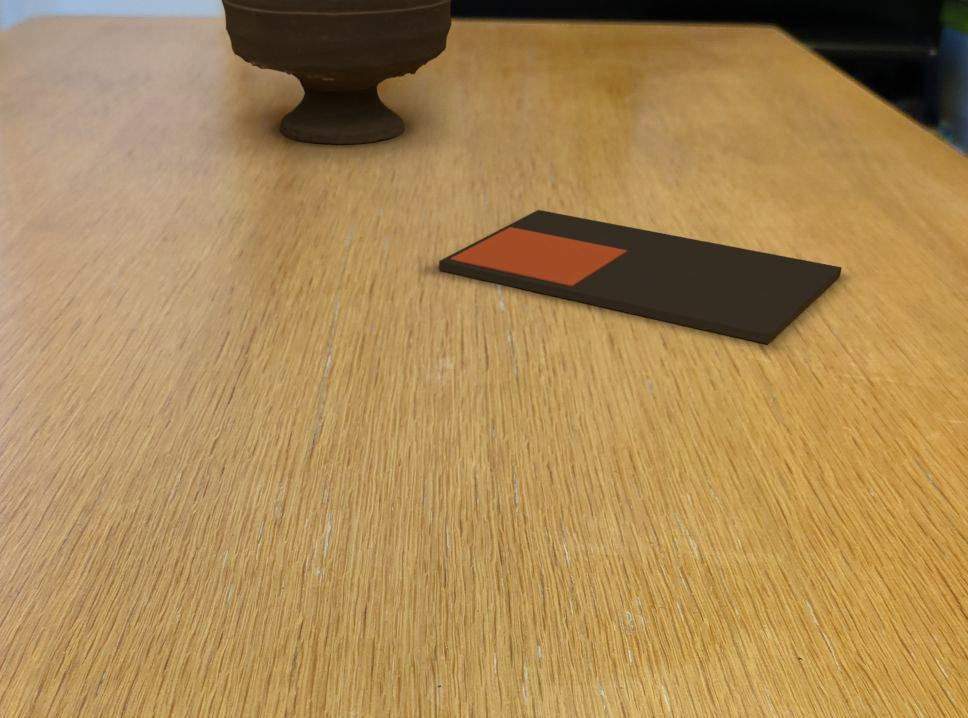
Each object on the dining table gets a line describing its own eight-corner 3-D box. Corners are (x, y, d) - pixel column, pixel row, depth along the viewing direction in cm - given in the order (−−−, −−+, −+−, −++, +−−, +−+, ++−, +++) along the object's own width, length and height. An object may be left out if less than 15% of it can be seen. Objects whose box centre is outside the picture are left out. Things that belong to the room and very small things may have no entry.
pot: (213, 152, 91) (198, -156, 82) (240, 118, 107) (230, -142, 98) (452, 157, 91) (462, -147, 82) (443, 123, 107) (451, -135, 98)
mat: (840, 276, 70) (842, 265, 70) (768, 344, 62) (770, 332, 61) (537, 218, 79) (538, 207, 79) (438, 270, 71) (438, 258, 71)
